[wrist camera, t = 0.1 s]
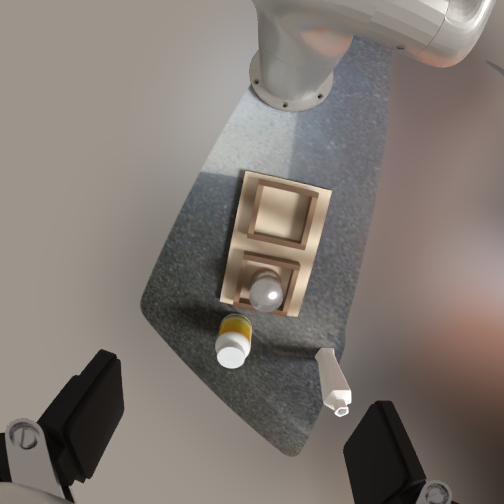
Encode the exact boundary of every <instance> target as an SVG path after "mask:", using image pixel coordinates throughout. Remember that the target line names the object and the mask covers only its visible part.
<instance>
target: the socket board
mask: <svg viewBox="0 0 504 504" xmlns="http://www.w3.org/2000/svg"><path fill="white" fill-rule="evenodd" d="M331 192H332V191H330V190H326V189H322V188H319V187H315V186H311V185H307V184H302V183H298V182H294V181H290V180H286V179H281V178H277V177H272V176H268V175H263V174H258V173H254V172H249V171H246V172H245V177H244V181H243V186H242V191H241V196H240V201H239V205H238V210H237V215H236V220H235V225H234V230H233V235H232V240H231V245H230V250H229V256H228V261H227V266H226V271H225V276H224V282H223V287H222V292H221V298H220V302H224V303H229V304H233V306H235V307H240V308H245V309H250V310H255V311H258V310H256V309H255V308H254V307H253V306H252V305H251V303H250V299H249V296H250V287H251V277H252V275H253V274H254V273H255V272H256V271H257V270H259V269H261V268H271V269H273V270H275V271H276V272H277V273H278V274H279V276H280V279H281V287H282V294H283V300H282V303H281V305H280V306H279V307H278V308H277V309H276V310H274V311H272V312H267V313H270V314H275V315H280V316H287V315H290V316H295V317H297V316H298V313H299V310H300V307H301V303H302V300H303V297H304V293H305V290H306V287H307V283H308V280H309V276H310V273H311V269H312V266H313V262H314V258H315V255H316V251H317V247H318V244H319V240H320V236H321V232H322V228H323V225H324V221H325V217H326V213H327V209H328V205H329V200H330V196H331ZM265 313H266V312H265Z"/></svg>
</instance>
